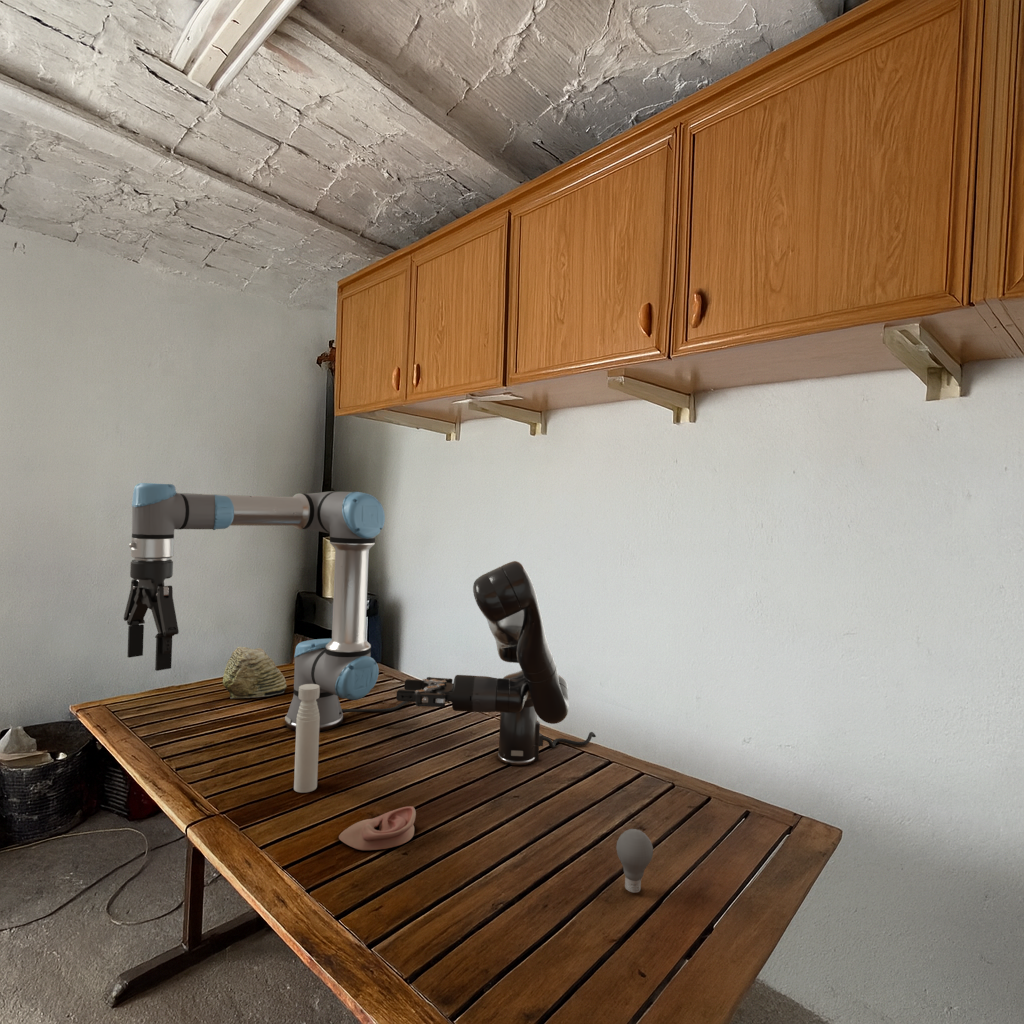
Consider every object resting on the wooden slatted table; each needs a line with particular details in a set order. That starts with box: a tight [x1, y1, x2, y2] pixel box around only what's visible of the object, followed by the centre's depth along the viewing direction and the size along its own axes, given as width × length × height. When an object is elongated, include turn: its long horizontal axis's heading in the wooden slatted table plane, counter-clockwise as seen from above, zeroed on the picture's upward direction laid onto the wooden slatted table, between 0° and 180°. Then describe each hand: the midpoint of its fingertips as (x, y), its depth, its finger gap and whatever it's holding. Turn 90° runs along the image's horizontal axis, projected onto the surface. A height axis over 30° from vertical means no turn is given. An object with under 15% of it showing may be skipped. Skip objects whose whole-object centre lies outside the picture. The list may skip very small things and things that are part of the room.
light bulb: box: [615, 828, 654, 894], centre depth 106 cm, size 6×6×10 cm
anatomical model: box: [338, 805, 417, 851], centre depth 119 cm, size 13×4×12 cm
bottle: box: [293, 699, 320, 794], centre depth 137 cm, size 5×5×22 cm
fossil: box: [222, 646, 288, 699], centre depth 198 cm, size 9×18×15 cm, turn 132°
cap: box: [298, 684, 320, 701], centre depth 137 cm, size 4×4×2 cm
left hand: (148, 662), depth 129 cm, fingers open, 13 cm apart
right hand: (400, 689), depth 137 cm, fingers open, 8 cm apart
